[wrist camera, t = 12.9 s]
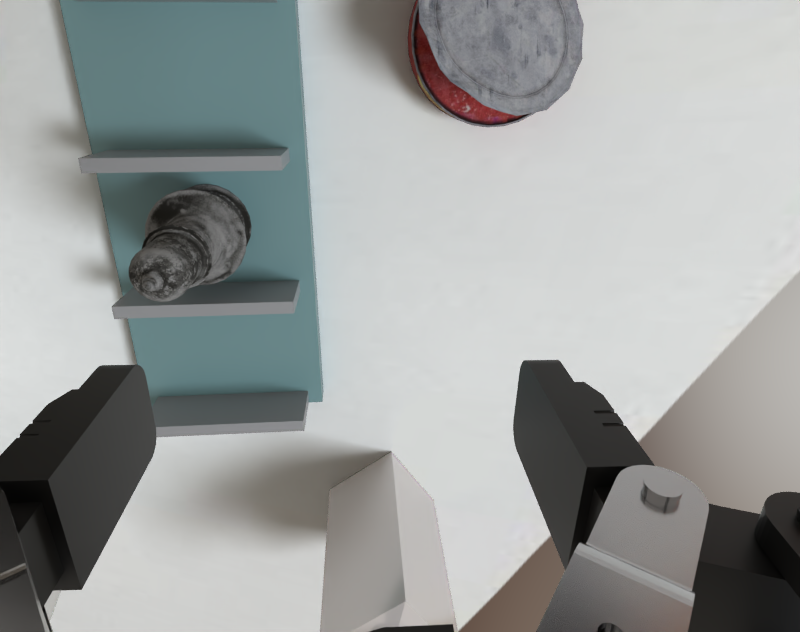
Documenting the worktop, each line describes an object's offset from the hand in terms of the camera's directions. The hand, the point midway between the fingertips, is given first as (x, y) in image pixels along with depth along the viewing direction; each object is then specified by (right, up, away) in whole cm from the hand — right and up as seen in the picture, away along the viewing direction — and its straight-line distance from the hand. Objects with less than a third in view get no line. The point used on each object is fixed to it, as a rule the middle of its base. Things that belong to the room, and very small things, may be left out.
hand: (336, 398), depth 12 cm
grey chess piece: (-11, +8, +24) cm, 28 cm away
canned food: (+7, +19, +23) cm, 31 cm away
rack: (-11, +8, +26) cm, 29 cm away
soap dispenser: (-1, -14, +36) cm, 39 cm away
